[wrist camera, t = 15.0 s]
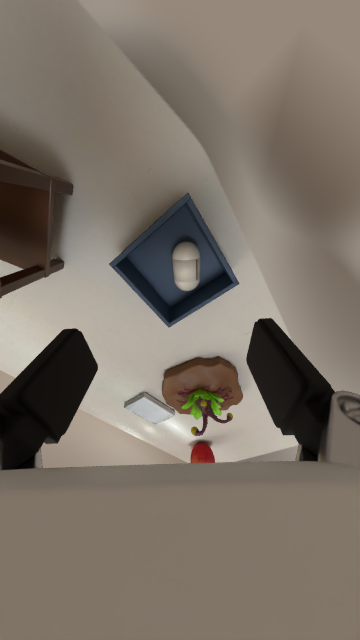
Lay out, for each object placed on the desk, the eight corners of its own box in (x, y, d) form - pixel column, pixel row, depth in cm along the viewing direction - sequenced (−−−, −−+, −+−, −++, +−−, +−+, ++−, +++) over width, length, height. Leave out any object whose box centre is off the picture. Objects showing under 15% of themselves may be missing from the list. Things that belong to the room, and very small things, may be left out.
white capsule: (164, 242, 22) (185, 244, 20) (185, 238, 25) (206, 240, 22) (169, 290, 26) (187, 297, 23) (187, 283, 28) (205, 289, 26)
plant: (150, 369, 39) (140, 417, 30) (231, 349, 36) (250, 396, 27) (177, 411, 50) (176, 458, 40) (243, 399, 46) (259, 447, 37)
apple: (185, 445, 62) (186, 481, 53) (200, 437, 58) (204, 474, 50) (201, 450, 65) (204, 486, 56) (217, 443, 61) (223, 479, 53)
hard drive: (123, 408, 45) (154, 425, 51) (143, 396, 43) (174, 416, 48) (124, 402, 47) (155, 419, 52) (144, 391, 44) (175, 410, 49)
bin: (121, 255, 26) (108, 264, 21) (186, 197, 22) (187, 192, 17) (170, 310, 31) (168, 327, 26) (229, 271, 27) (239, 283, 22)
